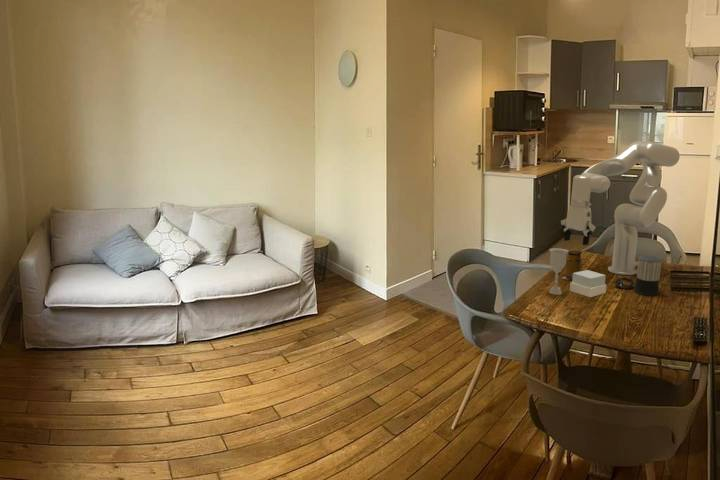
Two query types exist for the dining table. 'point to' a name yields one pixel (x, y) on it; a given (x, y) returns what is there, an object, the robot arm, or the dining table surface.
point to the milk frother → (645, 276)
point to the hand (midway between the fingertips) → (576, 242)
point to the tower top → (588, 278)
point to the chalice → (557, 266)
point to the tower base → (587, 289)
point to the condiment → (572, 264)
